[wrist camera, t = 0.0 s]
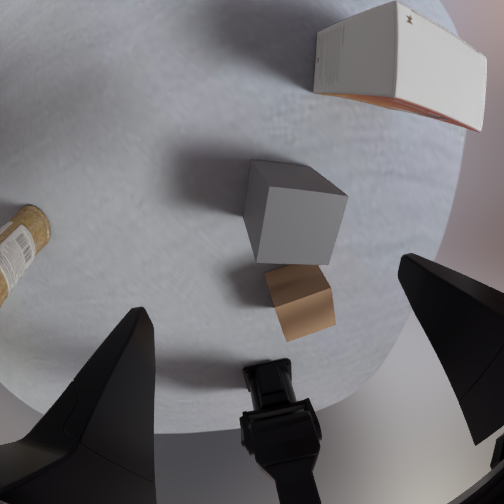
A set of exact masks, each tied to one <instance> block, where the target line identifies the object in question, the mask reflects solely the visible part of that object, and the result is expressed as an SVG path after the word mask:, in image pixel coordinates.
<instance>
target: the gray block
mask: <svg viewBox="0 0 504 504" xmlns="http://www.w3.org/2000/svg"><path fill="white" fill-rule="evenodd" d="M347 200H348V196H347V195H346V194H345V193H344V192H342V191H341V190H340V189H339V188H337V187H336V186H335V185H334V184H332V183H331V182H330V181H328V180H327V179H326V178H325V177H323V176H322V175H321V174H319V173H318V172H317V171H315V170H314V169H313V168H311V167H307V166H301V165H294V164H286V163H279V162H270V161H262V160H252V159H251V164H250V171H249V178H248V185H247V192H246V199H245V206H244V214H243V219H244V222H245V226H246V229H247V232H248V236H249V239H250V243H251V246H252V250H253V253H254V257H255V260H256V263H274V264H307V265H328V264H329V261H330V257H331V254H332V251H333V248H334V245H335V241H336V238H337V235H338V232H339V228H340V225H341V221H342V218H343V214H344V211H345V207H346V204H347Z"/></svg>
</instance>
